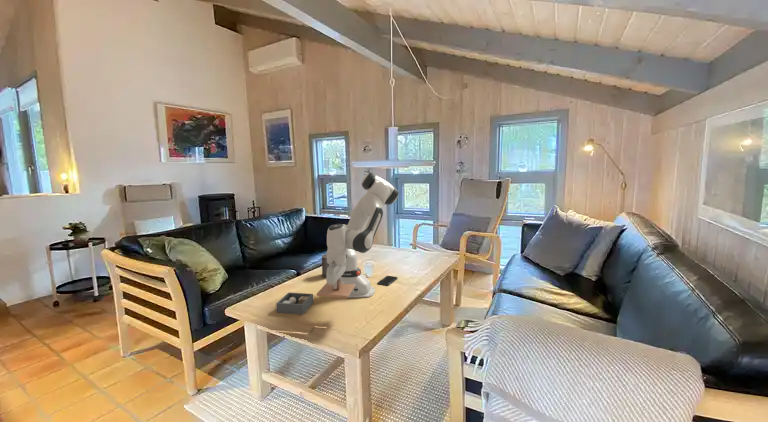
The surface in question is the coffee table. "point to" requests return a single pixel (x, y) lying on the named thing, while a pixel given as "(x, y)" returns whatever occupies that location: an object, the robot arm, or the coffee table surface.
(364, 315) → the coffee table surface
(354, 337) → the coffee table surface
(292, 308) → the storage box
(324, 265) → the pillar candle
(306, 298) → the birch cube
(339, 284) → the lid
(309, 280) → the coffee table surface
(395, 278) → the phone
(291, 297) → the off-white ball
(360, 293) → the robot arm
